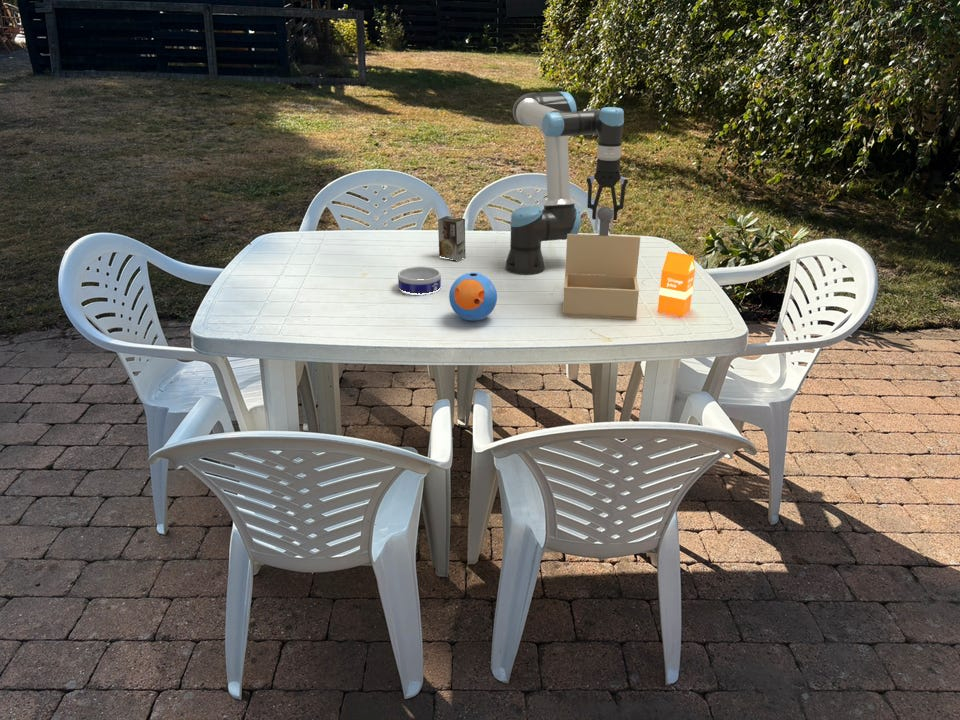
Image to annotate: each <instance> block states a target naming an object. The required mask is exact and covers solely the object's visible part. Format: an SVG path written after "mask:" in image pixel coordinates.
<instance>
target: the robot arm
mask: <svg viewBox="0 0 960 720" xmlns="http://www.w3.org/2000/svg"><path fill="white" fill-rule="evenodd" d="M624 115H625V112H624V109H623V108H621V107H616V106H615V107H614V106H609V107H602V108H601V109H597V108H596V109H595V108H590V109H588V110H579V111H577V103H576V101H575V99H574V97H573V95H572V94H570V93H569V92H566V91H559V90H558V91H548V92H547V91H545V92H544V91H543V92H528V93H525V94H523V95H521V96H520V97H519V98H518V99H517V100H516V101H514V104H513V107H512V116H513V118H514V120H515V121H516V122H517V123H519V124H520V125H521V126H525V127H535V128H538V129H539V131H540V133H542V135H544V148H545V149H544V152H545V154H544V155H545V169H546V170H545V175H546V194H547V200H546V202H545V203H544V205H543V209H542V208H541V207H540V206H537V205H533V206H532V205H530V206H529V205H527V206H521V207H519V208H516V209H514V210H513V211H512V213H511V215H510V217H511V218H510V249H509V251H508V255H507V257H506V261H505V270H506V271H507V270H508V272H509V271H510V273H513V274H516V273H517V274H518V275H534V274H535V275H536V274H540V273H542V272H543V271H544V270H546V269H545V264H546V263H545V259H544V257H543V252H542V248H541V247H542V242H549V241H550V242H551V241H561V240H563V241H565V240H566V241H567V234H579V232H580V229H581V226H582V225H581V224H582V217H581V216H582V215H581V211H580V209H579V208H577V207H575V202H574V201H573V200H572V199H571V187H570V186H571V185H570V183H571V181H570V166H569V164H570V162H569V160H570V159H569V143H568V142H569V141H568V139H569V138H568V137H570V136H571V137H572V136H591V135H595V136H598V138H597V153H596V156H597V159H596V167H595V173H594V175H592V176H587V177H586V183H587V208H588V209H591V210H592V215H591V219H592V220H594V221H595V222H594V231H598V225H599V224H598V223H599V222H598V221H599V218H598V216H597V213H598V210H599V208H598V205H599V201H600V198H601V195H602V192H603V190H604V188H608V189H610V191H611V198H612V204H613V205H612V206H613V208H611V210H612V212H613V216H612V218H611V219H610V221H609V231H611V232H612V231H614V230H613V229H614V228H613V227H614V221H617V220H618V211H619V210H623V209H624V205H625V194H626V186H627V184H628V182H629V179H628V177H623V176H621V173H620V172H621V171H620V170H621V160H620V158H621V157H622V143H623V132H624V122H625V118H624V117H625V116H624ZM595 181H596V183H597V185H598V188H597V190H596V194H595V197H594V201H593V203H592V196H593V194H592V193H593V184H594V183H595ZM619 181H620V182H619ZM618 182H619V183H620V185H621V186H620V196H619V204H618V202H617V196H616V188H615V186H616V185H617V183H618ZM517 274H516V275H517Z"/></svg>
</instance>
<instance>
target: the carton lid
mask: <svg viewBox="0 0 960 720" xmlns="http://www.w3.org/2000/svg"><path fill="white" fill-rule="evenodd" d="M611 209H612V208H610V207H609V206H604V205H603V206H601V207H600V208H598V213H597V216H598V221H599V230H598V231H599V233H598V234H583V233H578V234H567V239H566V248H565V249H566V251H565V252H566V253H565V269H564V271H565V273H564V274H587V275H614V276H635V277H637V275H638V267H639V266H638V264H639V255H640V246H641V236H640V235H639V236H637V235H620V236H617V235H618V234H617V235H616V234H613V235H611V234H609V231H610V221H611V218H612V216H613V212H612V210H611Z"/></svg>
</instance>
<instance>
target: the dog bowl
mask: <svg viewBox="0 0 960 720" xmlns="http://www.w3.org/2000/svg"><path fill="white" fill-rule="evenodd" d="M441 275H442V273H441V271H440V270H439V269H437V268H434V267H430V266H410V267H406V268H403V269H401V270H399V271H398V273H397V279H398V280H397V282H398V289H399V288H400V289H401V290H403V291H406V292H410V293H417V294H418V293H420V294H422V293H429V292H433V291H436V290H438V289H439V288H440V287H441V286H442V285H441V283H442V281H441V280H442V276H441ZM417 279H424V280H417ZM440 289H441V288H440Z"/></svg>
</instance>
